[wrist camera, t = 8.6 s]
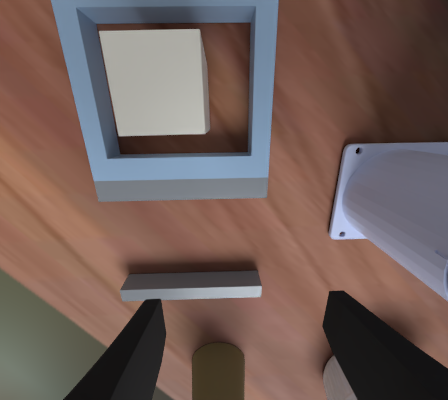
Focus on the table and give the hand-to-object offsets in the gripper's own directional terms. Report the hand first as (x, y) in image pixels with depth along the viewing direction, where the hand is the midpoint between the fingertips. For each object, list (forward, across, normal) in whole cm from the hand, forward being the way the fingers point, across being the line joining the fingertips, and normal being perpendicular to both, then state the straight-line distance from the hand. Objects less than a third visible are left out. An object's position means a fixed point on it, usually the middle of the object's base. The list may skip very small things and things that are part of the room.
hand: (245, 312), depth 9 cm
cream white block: (+10, +4, -9) cm, 14 cm away
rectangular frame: (+9, +4, -4) cm, 11 cm away
